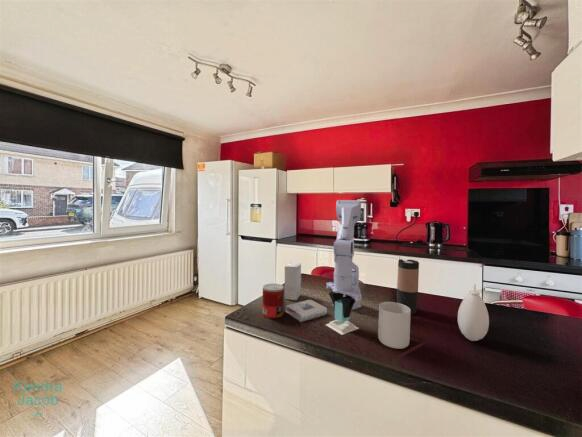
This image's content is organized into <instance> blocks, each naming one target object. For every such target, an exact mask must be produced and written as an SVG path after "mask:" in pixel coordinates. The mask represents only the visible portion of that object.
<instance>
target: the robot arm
mask: <svg viewBox="0 0 582 437" xmlns="http://www.w3.org/2000/svg"><path fill="white" fill-rule="evenodd" d="M335 204H336V205H335V212H336V217H337V218H336V219H337V221H339V222H341V224H339V226H338V228H337V233H336V239H335V240H334V242H333V259H334V271H333V282H332V281H329V282H326V286H325V288H326V289H328V290H329V289H330V290H331V291H330V292H328V295H329V297H330V299H331V301H332V306H333V309H334V311H335V301H337V300H341V301H342V304H343V316H344V318H347V317H349V316H351V312H352V310H355V309H359V308H362V306H363V305H361V301H362V293H361V289H360V288H361V287H360V286H359V283H360V282H359V278H360V271H359V269H360V268H359V266H358V265H357V264H356V263H355V262H353V257H354V254H355V242H354V240H355V239H354V238H355V237H354V236H355V225H356V223H357V222H360V219H361V215H362V214H361V213H362V200H360V199H358V200H352V199H349V200H348V199H342V200H341V199H337V200H336V203H335ZM349 318H350V317H349Z"/></svg>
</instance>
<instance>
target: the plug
mask: <svg viewBox="0 0 582 437" xmlns="http://www.w3.org/2000/svg"><path fill="white" fill-rule="evenodd" d="M350 316H351V315H350ZM350 316H349V317H347V318H344V316H343V304H342V301H341V300H337V301H335V310H334V320H339V321H340V322H344V321H350Z"/></svg>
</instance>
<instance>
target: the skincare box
mask: <svg viewBox="0 0 582 437" xmlns="http://www.w3.org/2000/svg"><path fill="white" fill-rule="evenodd" d="M301 295H302V263H298V262H289V263H288V264H286V265H285V266H284V300H289V301H298V299H299V297H300V296H301Z"/></svg>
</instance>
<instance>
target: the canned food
mask: <svg viewBox="0 0 582 437" xmlns="http://www.w3.org/2000/svg"><path fill="white" fill-rule="evenodd" d="M284 301H285V285H283V284H280V283H267V284H264V285H262V316H263V318H268V319H278V318H281V317H283V315H284V309H285V308H284V306H285V304H284Z"/></svg>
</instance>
